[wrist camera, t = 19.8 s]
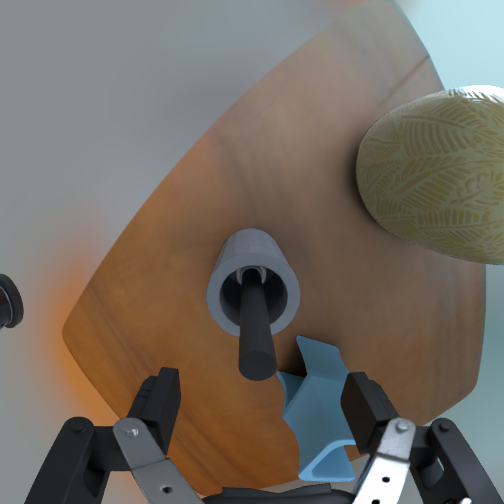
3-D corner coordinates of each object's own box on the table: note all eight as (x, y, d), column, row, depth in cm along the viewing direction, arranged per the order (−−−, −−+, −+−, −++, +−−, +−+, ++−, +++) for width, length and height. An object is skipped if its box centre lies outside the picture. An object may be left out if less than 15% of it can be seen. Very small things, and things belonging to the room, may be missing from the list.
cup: (219, 285, 37) (206, 336, 24) (221, 226, 36) (207, 249, 22) (277, 288, 38) (294, 340, 24) (282, 230, 36) (305, 255, 22)
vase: (317, 177, 35) (473, 161, 8) (387, 94, 32) (525, 23, 6) (399, 259, 37) (542, 341, 11) (456, 177, 35) (596, 188, 8)
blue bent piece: (318, 385, 42) (351, 481, 22) (275, 374, 41) (292, 479, 21) (342, 348, 40) (394, 441, 21) (297, 334, 39) (333, 437, 20)
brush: (237, 272, 36) (226, 387, 14) (238, 247, 35) (227, 339, 13) (262, 273, 36) (284, 389, 14) (263, 248, 35) (292, 341, 13)
